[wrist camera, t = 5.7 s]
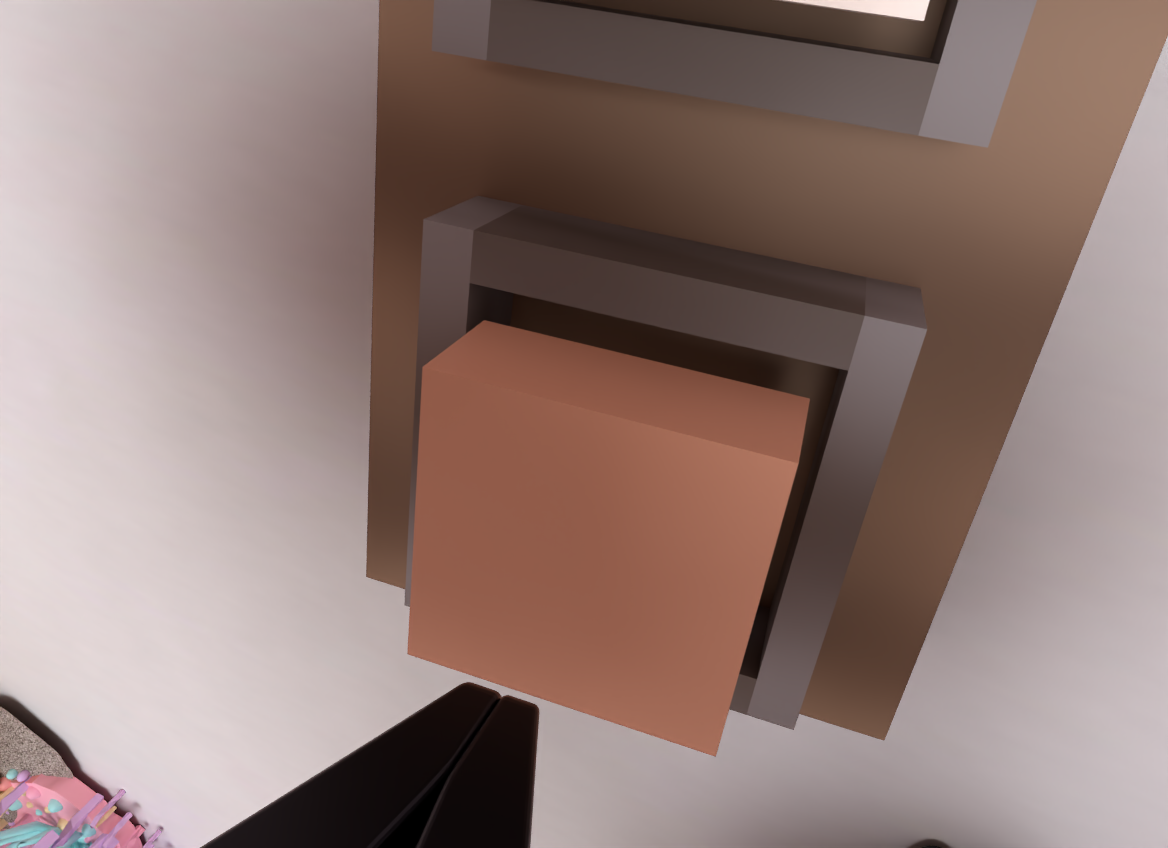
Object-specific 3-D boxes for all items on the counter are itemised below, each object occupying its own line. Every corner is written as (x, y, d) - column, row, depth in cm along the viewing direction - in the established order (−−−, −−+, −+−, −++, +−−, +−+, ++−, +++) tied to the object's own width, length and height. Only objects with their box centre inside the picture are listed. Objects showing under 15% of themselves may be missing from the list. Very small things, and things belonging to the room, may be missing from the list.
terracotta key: (735, 664, 14) (715, 756, 12) (462, 580, 15) (407, 653, 13) (809, 399, 12) (798, 463, 10) (484, 320, 13) (422, 366, 11)
